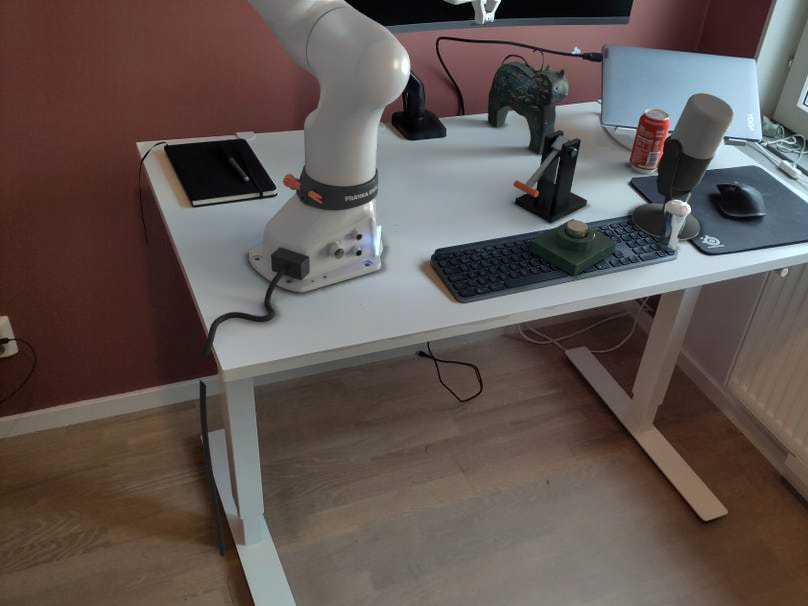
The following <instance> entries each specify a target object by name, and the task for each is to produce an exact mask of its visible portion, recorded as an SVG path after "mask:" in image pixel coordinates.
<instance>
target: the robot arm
mask: <svg viewBox="0 0 808 606" xmlns="http://www.w3.org/2000/svg"><path fill="white" fill-rule="evenodd" d="M246 1H247V2H248V3H249V5H250V6H251V7H252V8H253V9H254V10H255V11H256V12H257V13H258V15H259V16H260V17H261V19H262V20H263V21H264V23H265V24H266V26H267V27H268V29H269V31H270V32H271V33H272V35H273V36H274V38H275V39H276V40H277V42H278V43H279V44H280V46H281V47H282V48H283V50H284V51H285V52H286V54H287V55H288V56H289V57H290V58H291V60H292V61H293V62H294V63H295V64H296V65H297V66H298V67H300V68H302V69H303V70H305V71H306V72H308V73H309V74H310V75H312V76H313V77H315V78H316V79H317V81H318V85H319V91H320V93H319V99H318V104H317V107H316V108H315V109H314V110H313V111H311V112H310V113H309V114H308V115H307V116H306V117H305V120H304V123H303V143H304V144H303V146H304V147H303V149H304V150H303V151H304V165H303V167H302V169H301V173H300V175H299V177H295V176H294V175H293V174H291V173H287V174H285V175H284V177H283V179H282V183H283V185H284V186H285V187H287V188H289V189H290V190H291V191H295V193H294V194H293V195H292V196H291V197H290V198H289V199H288V200H287V201H286V202H285V203H284V205H283V206H281V208H280V209H279V210H277V212H276V213H275V214H274V215H273V216H272V217H271V218H270V220H268V221H267V223H266V224H265V227H264V230H263V236H262V242H261V243H259V244H257V245H256V246H254V247H253V248H251V249H249V251H248V260H249V263H250V265H251V266H252V268H253V269H254V270H255V272H257V273H258V274H259V275H260V276H262V277H263V278H264V279H266V280H267V281H268V282H270V283H269V285H268V287H267V289H266V292H265V295H264V302H263V303H264V308H265V309H266V311H267V314H266V315H255V314H250V313H246V312H241V311H230V312H226V313H223V314H222V315H220V316H218V317H216V318H215V319H214V320H213V321H212V323H211V325H210V327H209V330H208V334H207V338H206V342H205V345H204V348H203V351H202V355H203V356H206V357H207V356H208V355H210V353H211V351H212V348H213V345H214V341H215V337H216V332H217V329H218V327H219V326H220V324H222V323H224V322H225V321H228V320H230V319H242V320H246V321H250V322H255V323H267V322H269V321H271V320H273V319H274V318H275V316H276V310H275V309H274V308H273V306H272V303H271V299H272V295H273V292H274V291H275V288H276V286H277V287H279V288H281V289H284V290H287V291H290V292H295V293H300V294H301V293H306V292H309V291H314V290H316V289H321V288H323V287H326V286H331V285H333V284H336V283H340V282H343V281H347V280H350V279H353V278H357V277H360V276H361V277H362V276H363V275H367V274H371V273H373V272H377V271H379V270H380V269H382V261H381V256H382V253H383V251H384V243H383V240H382V237H381V231H382V225H379V222H378V221H379V220H378V213H377V212H378V211H377V200H376V199H377V195H378V193H379V170H378V168H377V147H378V146H377V145H378V133H379V132H378V131H379V127H380V122H381V118H382V116H383V113H384V110H385V108H386V107H387V106H388V105H390V104H392V103H394V102H395V101H396V100H397V99H398V98H399V97H400V96H401V95H402V93H403V92H404V91H405V88H406V87H407V84H408V82H409V80H410V76H411V60H410V57H409V53H408V52H407V50H406V48H405V46H403V45H402V43H401V42H400V40H398V39H397V38H396V36H395V35H394V34H393V33H392V32H391V31H390V30H389V29H388V28H387V27H386V26H384V25H382V24H381V23H379V22H377V21H375V20H373V19H372V18H370V17H368V16H367V15H365V14H364V13H362V12H360V11H359V10H358V9H356V8H354V7H353V6H352V5H350V4H349V3H348V2H347V1H346V0H246ZM501 1H502V0H443V2H447V3H449V4H451V5H453V6H454V5H455V6H456V5H460V4H465V3H470V2H471V5H472V7H473V10H474V22H475V24H478V25H480V26H481V25H485V24H490V23H493V22H494V20H495V19H494V18H495V13H496V11H497V9H498V7H499V5H500V3H501ZM207 415H208V414H207V384H206V383H205V382H203V381H202V380H201V379H199V418H200V420H199V421H200V429H201V430H200V433H201V440H202V448H203V455H204V462H205V469H206V475H207V482H208V487H209V493H210V499H211V505H212V511H213V517H214V523H215V529H216V535H217V541H218V550H219V555H220V556H221V557H225V556H226V547H225V537H224V531H223V525H222V519H221V513H220V512H221V511H220V506H219V500H218V493H217V488H216V482H215V477H214V476H215V475H214V470H213V463H212V457H211V456H212V455H211V448H210V439H209V430H208V416H207Z"/></svg>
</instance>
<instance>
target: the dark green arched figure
mask: <svg viewBox="0 0 808 606" xmlns="http://www.w3.org/2000/svg"><path fill="white" fill-rule="evenodd" d="M537 51H538V52H539V53H540V54H541V56H542V63H541V66H540V69H539V70H538V69H537V68H536V67H535V66H534V65H531V64H530V63H529V62H528V61H527V59H525V58H524V57H523V56H522V55H519V54H515V53H511V54H508V55H507V56H505V57H504V58H503V60H502V62H501V65H500V66H499V67H498V68H497V69H496V71H495V73H494V75H493V79H492V81H491V85H490V89H489V92H488V101H487V102H488V103H487V105H488V106H487V123H488V124H489V125H491V126H492V127H494V128H500V127H504V126H505V123H506V120H507V117H508V114H509V111H510V109H511V110H512V111H513V112H515V113H516V114H518V116H520V117H521V116H522V117H523V118H525V119H526V122H527V124H528V130H529V135H530V136H529V138H530V139H529V144H528V149H529V150H530V151H533V152H535V153H536V154H537V155H542V151H543V145H544V139H545V136H546V135H548V134H551V133H553V132H555V125H556V118H557V111H556V104H559V103H562V102H564V101H566V99H567V98H568V93H569V89H570V87H569V86H570V85H569V82H568V80H567V78H566V75H565V74H566V73H565V68H562V69H560V70H552V69H551V64H550V63H548V64H547V65H546V67H545V69H544V70H543V68H544V62H545V55H544V51H543V50H542V48H540V47H538V48H535V49H533V50H532V54H534V53H535V52H537ZM511 57H514V58H519V59H521V60H522V61H523V62H521V61H511V62H506V61H507V60H508V59H510V58H511ZM505 62H506V63H505Z"/></svg>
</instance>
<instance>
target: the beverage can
mask: <svg viewBox="0 0 808 606" xmlns="http://www.w3.org/2000/svg"><path fill="white" fill-rule="evenodd" d="M669 117H670V114H669V113H668V112H667V111H664V110H662V109H658V108H648V109H645V110H644V113H642V115H640V117H639V120H638V123H637V126H636V127H637V129H636V131H635V136H634V140H633V144H632V148H631V153H630V157H629V163H630V165H631V167H632V168H633V170H635V171H636V172H639V173H645V174H650V173H653V172H654V171H657V166H658V162H659V160H660V158H661V156H662V154H663V147H664V141H665V140H666V138H667V137H668V135H669V131H670V127H671V121H670V118H669Z"/></svg>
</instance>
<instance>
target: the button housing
mask: <svg viewBox="0 0 808 606" xmlns="http://www.w3.org/2000/svg"><path fill="white" fill-rule="evenodd" d="M572 220H575V219H574V218H572V219H570V220H568V221H566V222H564V223H562V224H560V225H557V226H556V227H554V228H552V229H550V230H548V231H546V232H544V233H542V234H540V235H538V236H537V237H535V238H532V239H531V240H530V244H529V250H528V251H529V252H530V253H532V254H533V255H536V256H538V257H539V258H542V260H545V261H546V262H549V263H550V264H551V265H554V267H557V268H558V269H560V270H562V271H564V272H566V273H567V274H569V275H571V276H573V277H575V276H577V275H578V274H580V273H582V272H584V271H585V270H587V269H588V268H590V267H592V266H594V265H595V264H597V263H599V262H601V261H603V260H604V259H606V258H607V257H609V256H611V255H613V254H614V253H615V251H616V247H617V241H616V240H614V239H612V238H609V237H608V236H606V235H604V234H602V233H600V232H599V231H597V230H595V229H593V228H591V227H589V226H588V229H587V234H586V237H585V238H584V239H576V238H571V237H570V236H568V235H566V228H567V223H568V222H569V221H572Z"/></svg>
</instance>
